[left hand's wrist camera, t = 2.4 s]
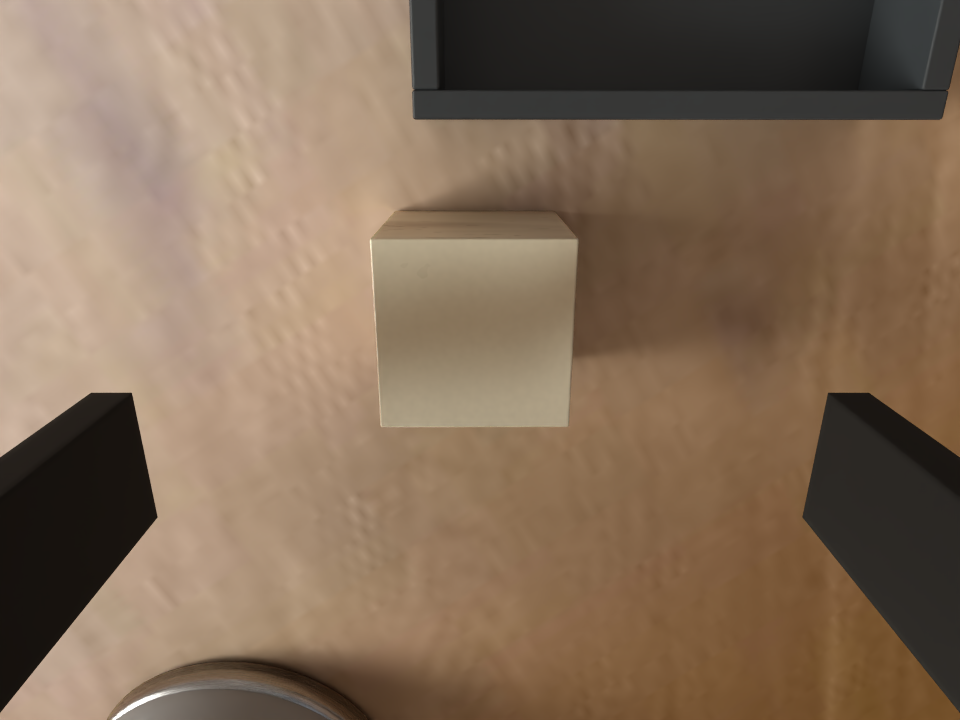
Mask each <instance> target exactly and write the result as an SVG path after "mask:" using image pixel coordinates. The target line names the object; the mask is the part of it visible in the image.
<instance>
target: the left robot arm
mask: <svg viewBox="0 0 960 720" xmlns="http://www.w3.org/2000/svg"><path fill="white" fill-rule="evenodd" d="M156 519H157V512H156V508H155V503H154V498H153V493H152V488H151V483H150V479H149V474H148V469H147V464H146V459H145V454H144V449H143V445H142V440H141V435H140V430H139V425H138V420H137V416H136V411H135V406H134V401H133V396H132V393H90V394H89V395H88V396H86V397H85V398H83V399H82V400H80V401H79V402H78V403H76V404H75V405H73V406H72V407H71V408H69V409H68V410H66V411H65V412H64V413H62V414H61V415H59V416H58V417H57V418H55V419H54V420H52V421H51V422H49V423H48V424H47V425H45V426H44V427H42V428H41V429H40V430H38V431H37V432H35V433H34V434H33V435H31V436H30V437H28V438H27V439H26V440H24V441H23V442H21V443H20V444H19V445H17V446H16V447H14V448H13V449H11V450H10V451H9V452H7V453H6V454H4V455H3V456H2V457H0V712H1V711H2V710H3V709H4V707H5V706H6V705H7V704H8V702H9V701H10V700H11V699H12V697H13V696H14V695H15V694H16V692H17V691H18V690H19V689H20V687H21V686H22V685H23V684H24V682H25V681H26V680H27V679H28V677H29V676H30V675H31V674H32V673H33V671H34V670H35V669H36V668H37V666H38V665H39V664H40V663H41V661H42V660H43V659H44V658H45V656H46V655H47V654H48V653H49V651H50V650H51V649H52V648H53V646H54V645H55V644H56V643H57V641H58V640H59V639H60V638H61V637H62V635H63V634H64V633H65V632H66V630H67V629H68V628H69V627H70V625H71V624H72V623H73V622H74V620H75V619H76V618H77V617H78V615H79V614H80V613H81V612H82V610H83V609H84V608H85V607H86V605H87V604H88V603H89V602H90V600H91V599H92V598H93V597H94V596H95V594H96V593H97V592H98V591H99V589H100V588H101V587H102V586H103V584H104V583H105V582H106V581H107V579H108V578H109V577H110V576H111V574H112V573H113V572H114V571H115V569H116V568H117V567H118V566H119V564H120V563H121V562H122V561H123V560H124V558H125V557H126V556H127V555H128V553H129V552H130V551H131V550H132V548H133V547H134V546H135V545H136V543H137V542H138V541H139V540H140V538H141V537H142V536H143V535H144V533H145V532H146V531H147V530H148V528H149V527H150V526H151V525H152V523H153V522H154V521H155V520H156ZM803 519H804V520H805V521H806V522H807V523H808V525H809V526H810V527H811V528H812V530H813V531H814V532H815V533H816V535H817V536H818V537H819V538H820V540H821V541H822V542H823V543H824V545H825V546H826V547H827V548H828V550H829V551H830V552H831V553H832V555H833V556H834V557H835V558H836V560H837V561H838V562H839V563H840V564H841V566H842V567H843V568H844V569H845V571H846V572H847V573H848V574H849V576H850V577H851V578H852V579H853V581H854V582H855V583H856V584H857V586H858V587H859V588H860V589H861V591H862V592H863V593H864V594H865V596H866V597H867V598H868V599H869V600H870V602H871V603H872V604H873V605H874V607H875V608H876V609H877V610H878V612H879V613H880V614H881V615H882V617H883V618H884V619H885V620H886V622H887V623H888V624H889V625H890V627H891V628H892V629H893V630H894V632H895V633H896V634H897V635H898V637H899V638H900V639H901V640H902V641H903V643H904V644H905V645H906V646H907V648H908V649H909V650H910V651H911V653H912V654H913V655H914V656H915V658H916V659H917V660H918V661H919V663H920V664H921V665H922V666H923V668H924V669H925V670H926V671H927V673H928V674H929V675H930V676H931V677H932V679H933V680H934V681H935V682H936V684H937V685H938V686H939V687H940V689H941V690H942V691H943V692H944V694H945V695H946V696H947V697H948V699H949V700H950V701H951V702H952V704H953V705H954V706H955V707H956V709H957V710H958V711H959V712H960V457H958V456H957V455H956V454H954V453H953V452H951V451H950V450H949V449H947V448H946V447H944V446H943V445H941V444H940V443H939V442H937V441H936V440H934V439H933V438H932V437H930V436H929V435H927V434H926V433H925V432H923V431H922V430H920V429H919V428H918V427H916V426H915V425H913V424H912V423H911V422H909V421H908V420H906V419H905V418H903V417H902V416H901V415H899V414H898V413H896V412H895V411H894V410H892V409H891V408H889V407H888V406H887V405H885V404H884V403H882V402H881V401H880V400H878V399H877V398H875V397H874V396H872V395H871V394H870V393H828V396H827V401H826V406H825V411H824V416H823V420H822V425H821V430H820V435H819V440H818V445H817V449H816V454H815V459H814V464H813V469H812V474H811V479H810V483H809V488H808V493H807V498H806V503H805V508H804V512H803ZM107 720H368V718H367V717H366V716H365V715H364V714H363V713H362V712H361V711H360V710H359V709H358V708H357V707H356V706H355V705H353V704H352V703H351V702H350V701H348V700H347V699H346V698H344V697H343V696H342V695H340V694H338V693H337V692H335V691H334V690H332V689H331V688H329V687H327V686H325V685H323V684H321V683H319V682H317V681H315V680H313V679H310V678H308V677H306V676H303V675H300V674H297V673H294V672H292V671H288V670H285V669H281V668H277V667H273V666H267V665H262V664H255V663H246V662H211V663H203V664H195V665H191V666H186V667H181V668H178V669H175V670H171V671H168V672H166V673H163V674H161V675H158V676H156V677H154V678H152V679H150V680H148V681H146V682H144V683H143V684H141V685H140V686H138V687H137V688H135V689H134V690H132V691H131V692H130V693H129V694H128V695H126V696H125V697H124V698H123V699H122V700H121V701H120V702H119V703H118V705H117V706H116V707H115V708H114V710H113V711H112V713H111V714H110V715H109V717H108V719H107Z"/></svg>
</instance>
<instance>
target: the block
mask: <svg viewBox="0 0 960 720" xmlns="http://www.w3.org/2000/svg"><path fill="white" fill-rule="evenodd" d="M578 247H579V240H578V238H577V237H576V236H575V235H574V233H573V232H572V231H571V230H570V229H569V228H568V226H567V225H566V224H565V223H564V222H563V221H562V219H561V218H560V217H559V216H558V215H557V213H556V212H555V211H395V212H394V213H393V214H392V215H391V216H390V218H389V219H388V220H387V221H386V222H385V223H384V224H383V225H382V227H381V228H380V229H379V230H378V231H377V232H376V233H375V234H374V236H373V237H372V238H371V239H370V251H371V268H372V285H373V302H374V319H375V337H376V354H377V371H378V388H379V405H380V422H381V427H568V426H569V414H570V395H571V377H572V358H573V340H574V321H575V302H576V284H577V265H578Z"/></svg>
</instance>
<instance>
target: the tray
mask: <svg viewBox="0 0 960 720" xmlns="http://www.w3.org/2000/svg"><path fill="white" fill-rule="evenodd" d="M409 6H410V36H411V67H412V87H413V89H414V90H413V92H412V99H413V118H414V119H550V120H940V119H942V117H943V113H944V108H945V104H946V100H947V96H948V91H946V90H948V89H949V87H950V83H951V78H952V74H953V70H954V65H955V61H956V57H957V53H958V48H959V44H960V0H409Z"/></svg>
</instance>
